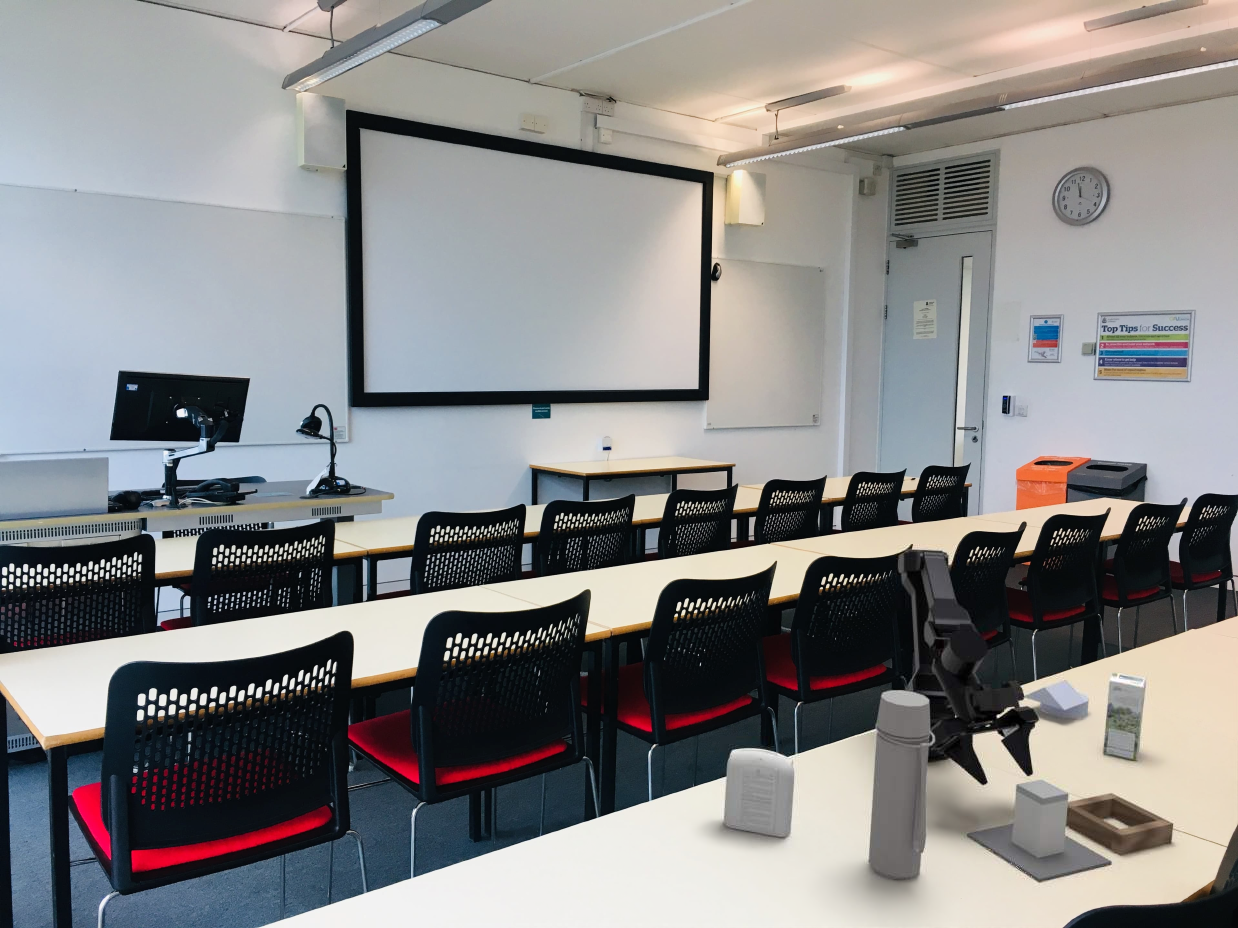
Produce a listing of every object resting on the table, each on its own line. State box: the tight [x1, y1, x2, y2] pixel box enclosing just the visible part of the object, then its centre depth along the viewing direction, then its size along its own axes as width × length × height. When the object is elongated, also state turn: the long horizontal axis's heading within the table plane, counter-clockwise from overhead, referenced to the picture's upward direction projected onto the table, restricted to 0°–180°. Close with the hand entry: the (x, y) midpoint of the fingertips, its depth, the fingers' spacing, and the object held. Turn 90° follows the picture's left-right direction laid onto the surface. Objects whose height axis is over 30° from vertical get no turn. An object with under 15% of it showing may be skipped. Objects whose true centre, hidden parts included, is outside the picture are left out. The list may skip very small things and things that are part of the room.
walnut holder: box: [1066, 792, 1174, 855], centre depth 152 cm, size 11×11×3 cm
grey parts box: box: [1012, 779, 1070, 858], centre depth 145 cm, size 5×5×9 cm
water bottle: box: [868, 689, 935, 880], centre depth 137 cm, size 9×8×25 cm
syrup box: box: [1102, 672, 1147, 762], centre depth 183 cm, size 6×6×14 cm
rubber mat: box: [966, 823, 1112, 882], centre depth 146 cm, size 14×14×1 cm
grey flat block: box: [723, 747, 795, 838], centre depth 149 cm, size 10×4×12 cm, turn 72°
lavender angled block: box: [1024, 679, 1090, 719], centre depth 204 cm, size 9×7×13 cm
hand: (1008, 779), depth 151 cm, fingers open, 9 cm apart
